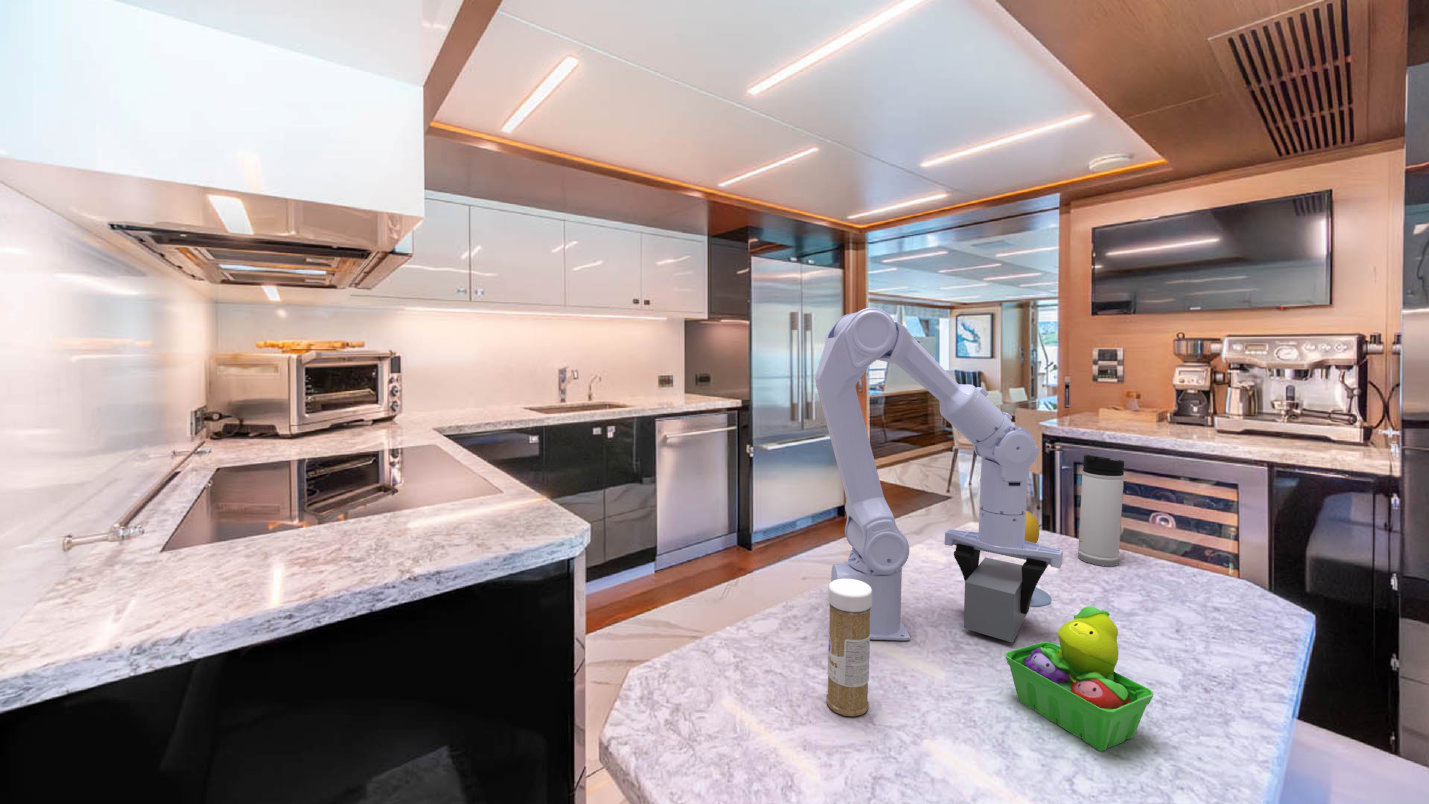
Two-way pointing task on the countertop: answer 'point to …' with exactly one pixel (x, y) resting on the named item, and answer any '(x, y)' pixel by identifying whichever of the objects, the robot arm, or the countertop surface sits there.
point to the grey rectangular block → (994, 599)
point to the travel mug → (1101, 510)
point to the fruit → (1031, 528)
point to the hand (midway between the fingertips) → (998, 604)
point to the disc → (1040, 598)
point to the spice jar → (849, 646)
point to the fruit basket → (1081, 681)
